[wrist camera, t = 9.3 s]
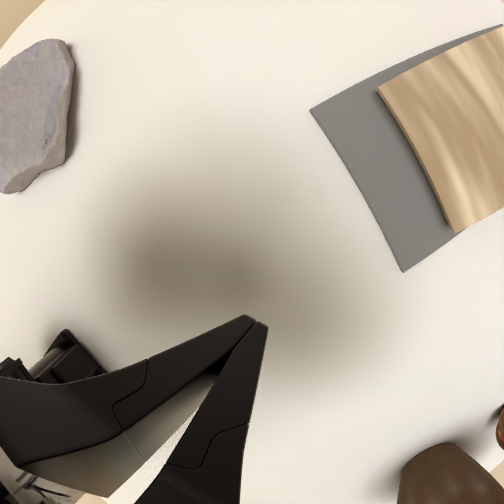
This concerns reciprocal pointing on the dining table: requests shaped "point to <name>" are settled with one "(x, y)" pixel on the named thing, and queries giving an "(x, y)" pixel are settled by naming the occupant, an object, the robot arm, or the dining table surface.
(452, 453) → the plant pot
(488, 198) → the domino
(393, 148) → the mat
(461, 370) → the dining table surface
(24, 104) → the stone block
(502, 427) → the tin
